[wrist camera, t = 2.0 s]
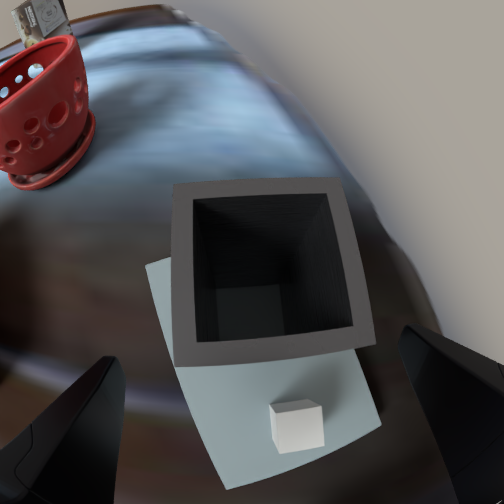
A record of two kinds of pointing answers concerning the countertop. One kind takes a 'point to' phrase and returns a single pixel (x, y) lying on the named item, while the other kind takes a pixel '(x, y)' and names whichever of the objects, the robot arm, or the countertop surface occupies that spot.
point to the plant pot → (44, 113)
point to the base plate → (266, 391)
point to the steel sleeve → (266, 267)
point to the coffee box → (41, 21)
